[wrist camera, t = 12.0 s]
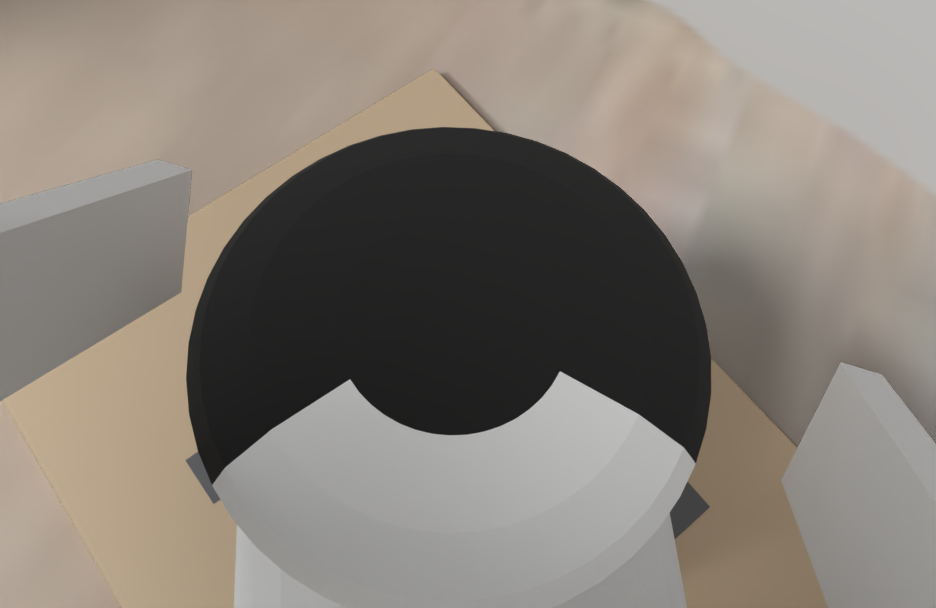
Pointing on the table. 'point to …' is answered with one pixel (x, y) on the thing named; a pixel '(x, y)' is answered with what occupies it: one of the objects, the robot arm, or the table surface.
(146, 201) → the robot arm
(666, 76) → the table surface
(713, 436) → the letter card
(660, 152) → the table surface
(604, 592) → the medicine bottle
